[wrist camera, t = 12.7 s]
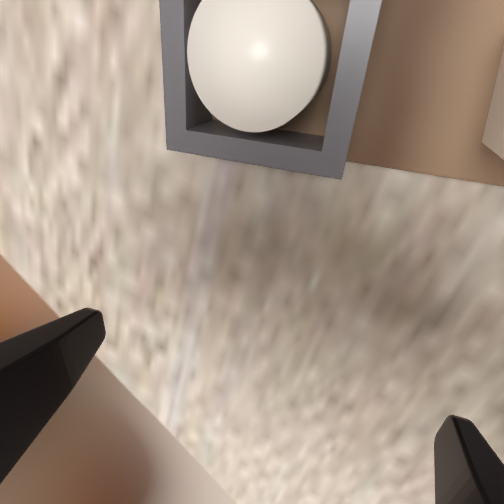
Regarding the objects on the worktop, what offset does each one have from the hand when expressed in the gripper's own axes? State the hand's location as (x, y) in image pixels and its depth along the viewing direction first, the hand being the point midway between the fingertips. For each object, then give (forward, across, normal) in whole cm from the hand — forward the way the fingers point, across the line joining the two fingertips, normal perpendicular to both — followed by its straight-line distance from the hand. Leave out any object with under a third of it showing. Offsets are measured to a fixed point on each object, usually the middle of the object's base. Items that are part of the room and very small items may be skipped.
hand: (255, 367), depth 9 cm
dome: (+11, +3, -6) cm, 13 cm away
